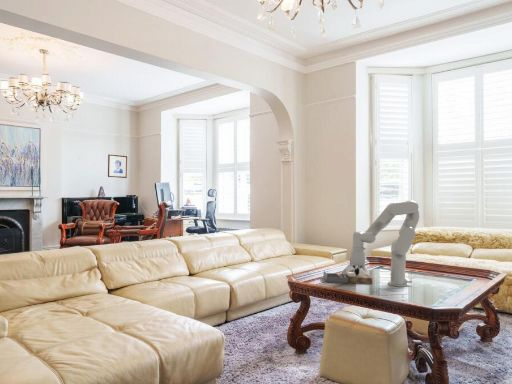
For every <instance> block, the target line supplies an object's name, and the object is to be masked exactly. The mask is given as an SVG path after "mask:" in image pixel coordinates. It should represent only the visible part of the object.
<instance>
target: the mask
mask: <svg viewBox="0 0 512 384" xmlns="http://www.w3.org/2000/svg"><path fill="white" fill-rule="evenodd" d="M356 266H357V268H358V265H356ZM347 272H354V273H355V269H354V267H352V266H350V263H349V264H348V265H347V266H346V267H344V269H343V270H342V271H341V274H344V276H346V274H347ZM359 274H366V275H369V274H370V273H369V272H368V269H367V267H366V266H365V267H362V268H360V270H359ZM369 276H370V275H369Z"/></svg>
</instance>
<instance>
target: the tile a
mask: <svg viewBox="0 0 512 384" xmlns="http://www.w3.org/2000/svg"><path fill="white" fill-rule="evenodd" d="M347 275H348V276H354V277H356V274H355V272H354V271H352V272H347Z"/></svg>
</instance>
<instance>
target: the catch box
mask: <svg viewBox="0 0 512 384" xmlns="http://www.w3.org/2000/svg"><path fill="white" fill-rule="evenodd" d="M341 275H342V276H343V278H339V276H338V275H337V273H335V272H334V273H333V272H326V270H325V271H324V270H323V279H324V281H325V282H326V283H338V284H349V282H348V278H346V275H344V274H342V273H341Z"/></svg>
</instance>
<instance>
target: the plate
mask: <svg viewBox="0 0 512 384" xmlns="http://www.w3.org/2000/svg"><path fill="white" fill-rule="evenodd" d="M345 277H346V278H348V284H366V285H373V277H372V276H370V275H366V274H358V275H356V277H354V276H348V275H347V274H346V275H345Z"/></svg>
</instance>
